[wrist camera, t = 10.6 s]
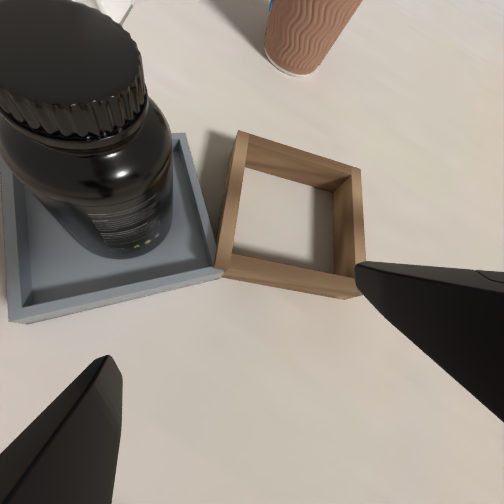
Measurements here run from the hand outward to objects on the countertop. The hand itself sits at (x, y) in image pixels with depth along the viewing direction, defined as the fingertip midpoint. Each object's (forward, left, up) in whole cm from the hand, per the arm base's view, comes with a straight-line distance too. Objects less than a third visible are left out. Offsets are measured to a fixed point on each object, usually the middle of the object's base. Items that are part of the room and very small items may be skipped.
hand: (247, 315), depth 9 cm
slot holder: (+11, +3, -10) cm, 15 cm away
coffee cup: (+28, +19, -11) cm, 35 cm away
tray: (0, +11, -10) cm, 15 cm away
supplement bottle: (0, +10, -10) cm, 14 cm away
